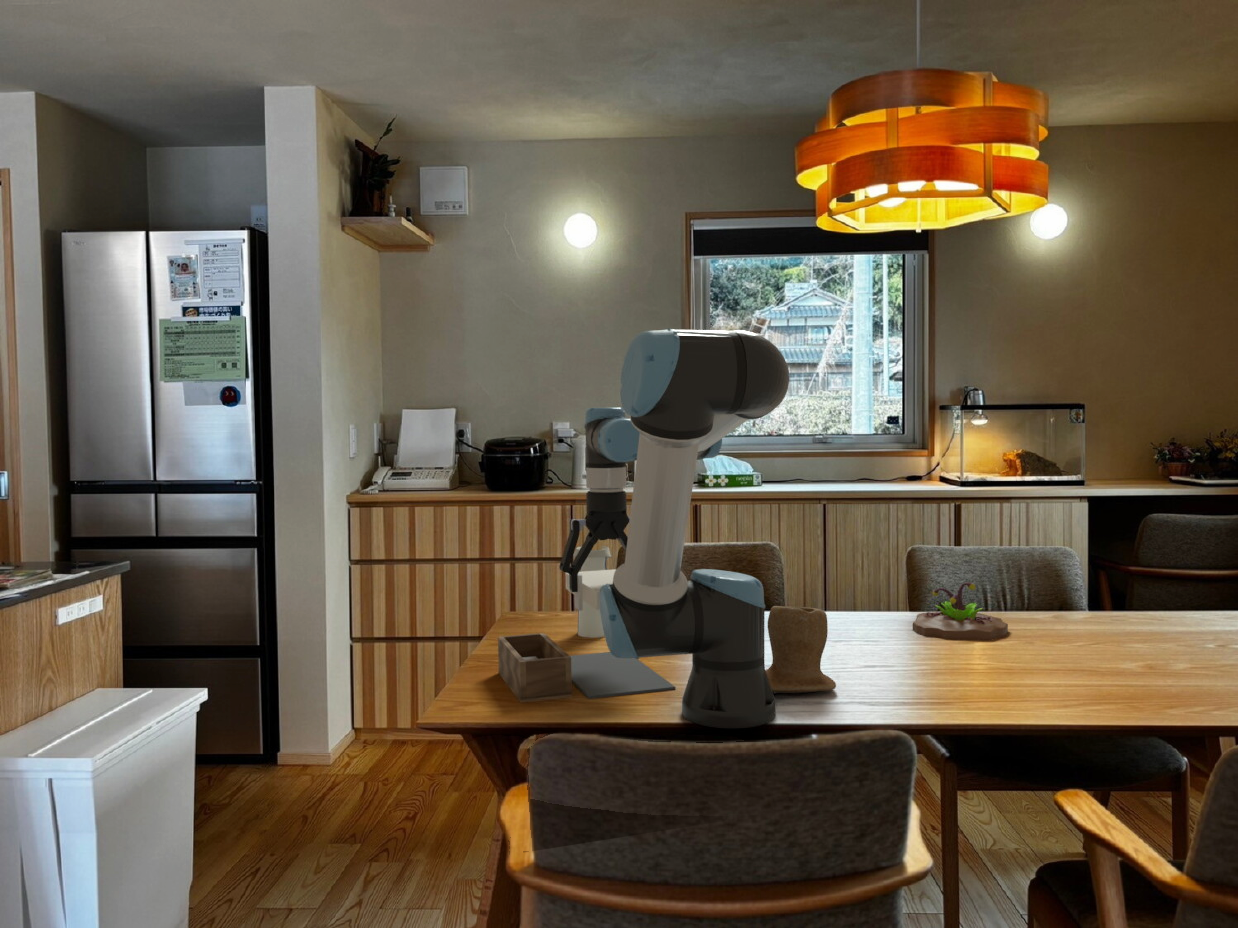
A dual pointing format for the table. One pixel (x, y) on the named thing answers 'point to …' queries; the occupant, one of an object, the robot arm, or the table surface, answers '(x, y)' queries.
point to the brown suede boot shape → (797, 650)
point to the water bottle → (588, 616)
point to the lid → (592, 585)
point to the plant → (959, 620)
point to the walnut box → (534, 667)
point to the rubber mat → (614, 676)
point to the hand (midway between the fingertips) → (607, 606)
